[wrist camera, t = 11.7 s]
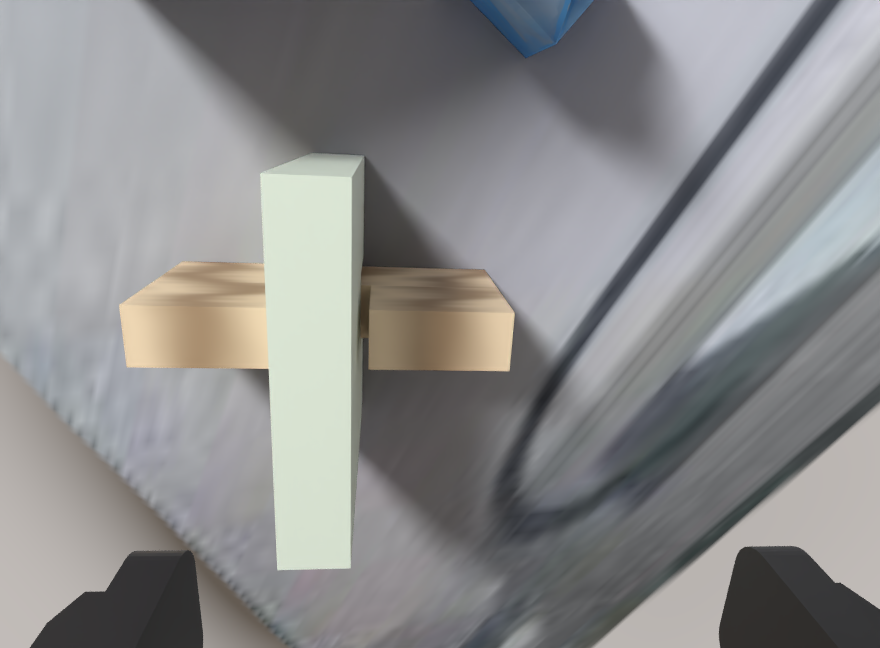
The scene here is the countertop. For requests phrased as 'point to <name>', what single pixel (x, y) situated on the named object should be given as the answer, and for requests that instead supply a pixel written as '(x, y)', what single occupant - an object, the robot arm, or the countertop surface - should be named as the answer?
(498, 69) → the countertop surface
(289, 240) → the sage board
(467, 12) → the countertop surface
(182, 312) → the oak u-shaped block
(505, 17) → the perfume bottle
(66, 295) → the countertop surface
